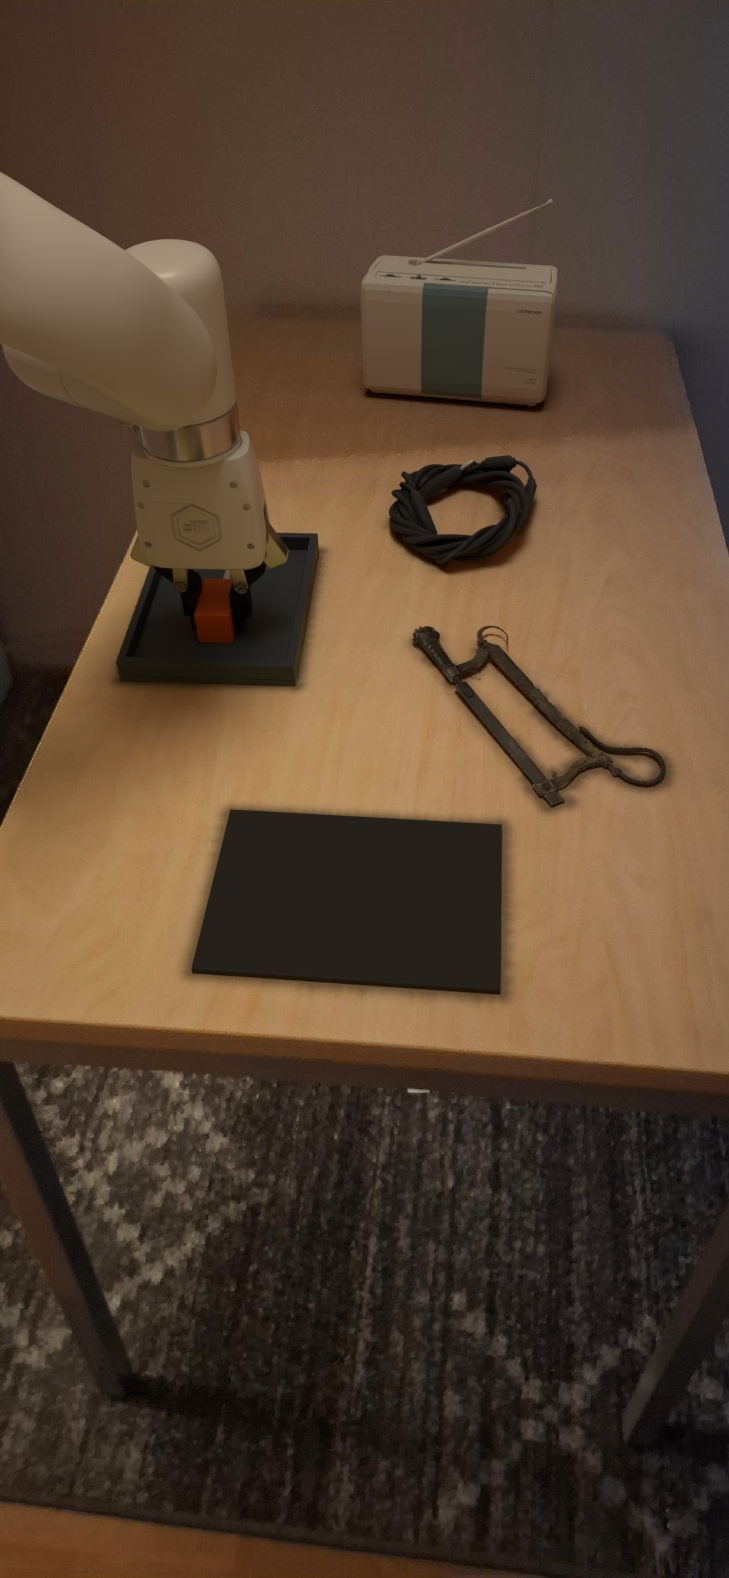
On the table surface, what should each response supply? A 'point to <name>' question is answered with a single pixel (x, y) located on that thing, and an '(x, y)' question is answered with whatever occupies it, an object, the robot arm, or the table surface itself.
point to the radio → (458, 327)
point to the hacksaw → (540, 783)
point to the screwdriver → (215, 611)
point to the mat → (356, 901)
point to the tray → (257, 653)
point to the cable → (431, 479)
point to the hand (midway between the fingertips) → (220, 619)
